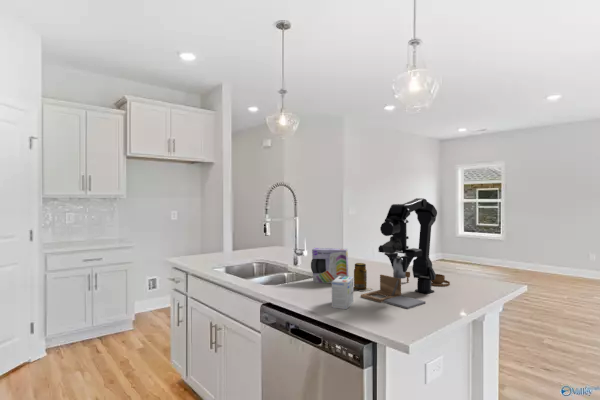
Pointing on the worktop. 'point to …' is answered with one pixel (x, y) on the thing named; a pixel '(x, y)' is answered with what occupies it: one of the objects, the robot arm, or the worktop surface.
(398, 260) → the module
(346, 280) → the light bulb box
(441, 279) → the place setting
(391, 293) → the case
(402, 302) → the mat
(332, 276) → the cake pan box
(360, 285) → the condiment
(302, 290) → the worktop surface
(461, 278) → the worktop surface
